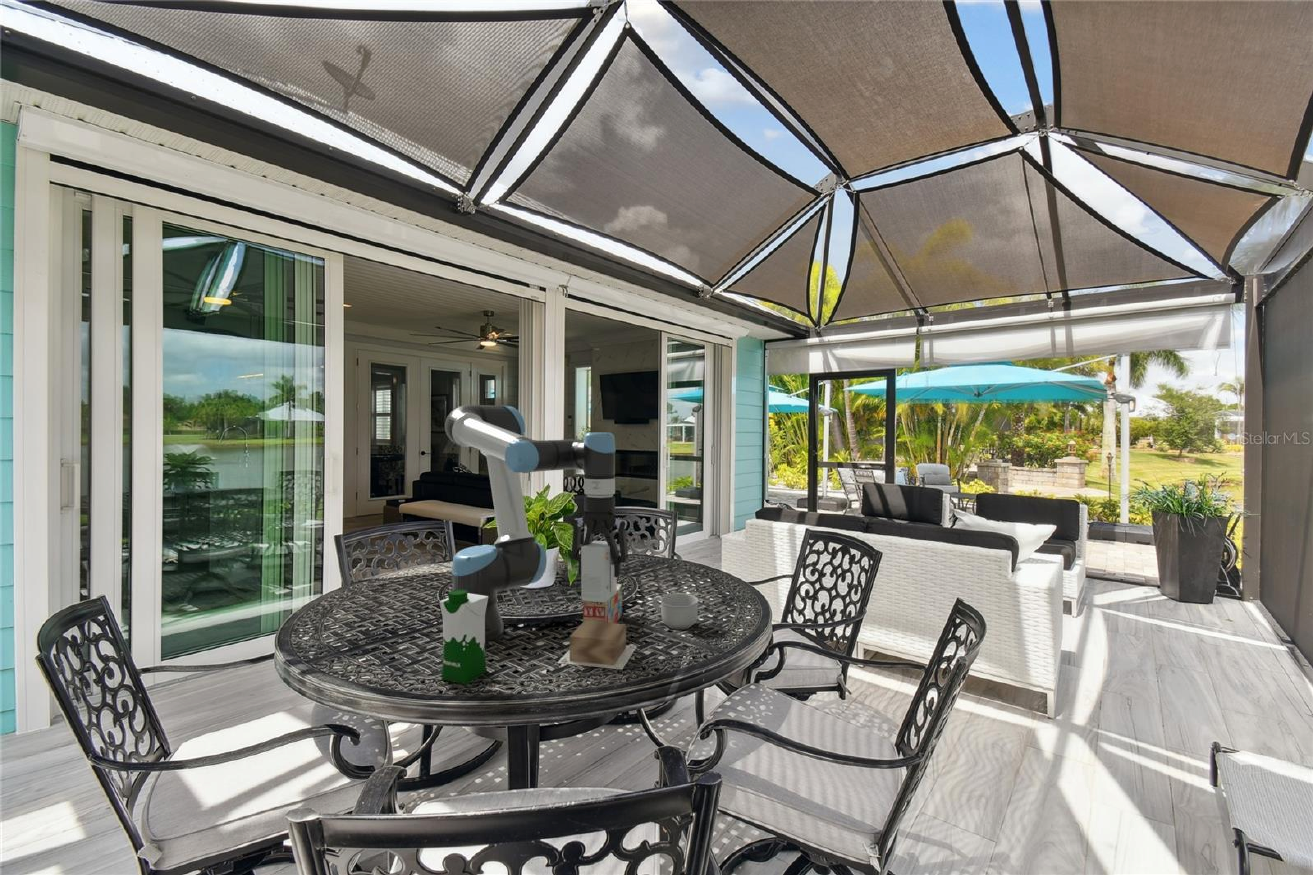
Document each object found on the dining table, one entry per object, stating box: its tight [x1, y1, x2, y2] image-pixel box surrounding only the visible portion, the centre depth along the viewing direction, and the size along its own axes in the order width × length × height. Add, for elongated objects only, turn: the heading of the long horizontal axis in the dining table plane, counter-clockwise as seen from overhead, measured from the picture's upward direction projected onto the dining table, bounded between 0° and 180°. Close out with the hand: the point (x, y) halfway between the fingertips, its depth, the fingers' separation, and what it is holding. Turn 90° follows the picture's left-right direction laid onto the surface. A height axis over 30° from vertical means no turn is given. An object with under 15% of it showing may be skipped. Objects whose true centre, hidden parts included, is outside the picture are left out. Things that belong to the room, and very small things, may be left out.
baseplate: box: [557, 643, 638, 670], centre depth 144 cm, size 16×14×2 cm
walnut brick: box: [569, 621, 627, 665], centre depth 144 cm, size 11×11×6 cm
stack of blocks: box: [582, 583, 623, 624], centre depth 167 cm, size 21×6×12 cm, turn 171°
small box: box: [580, 540, 617, 602], centre depth 143 cm, size 8×6×13 cm
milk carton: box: [439, 590, 489, 685], centre depth 134 cm, size 9×9×20 cm
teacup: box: [652, 592, 699, 631], centre depth 168 cm, size 14×11×8 cm
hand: (599, 588), depth 143 cm, fingers closed on small box, 7 cm apart
